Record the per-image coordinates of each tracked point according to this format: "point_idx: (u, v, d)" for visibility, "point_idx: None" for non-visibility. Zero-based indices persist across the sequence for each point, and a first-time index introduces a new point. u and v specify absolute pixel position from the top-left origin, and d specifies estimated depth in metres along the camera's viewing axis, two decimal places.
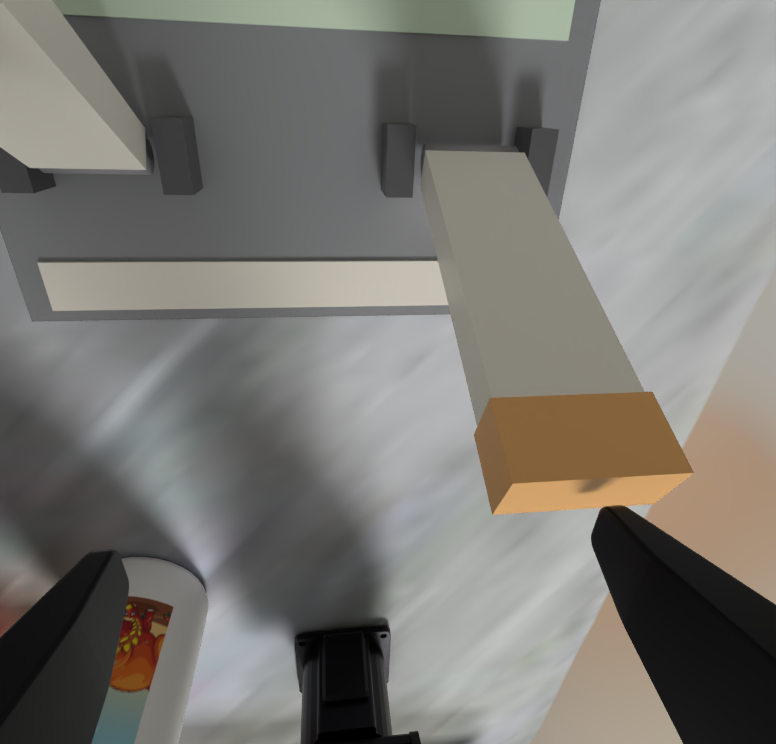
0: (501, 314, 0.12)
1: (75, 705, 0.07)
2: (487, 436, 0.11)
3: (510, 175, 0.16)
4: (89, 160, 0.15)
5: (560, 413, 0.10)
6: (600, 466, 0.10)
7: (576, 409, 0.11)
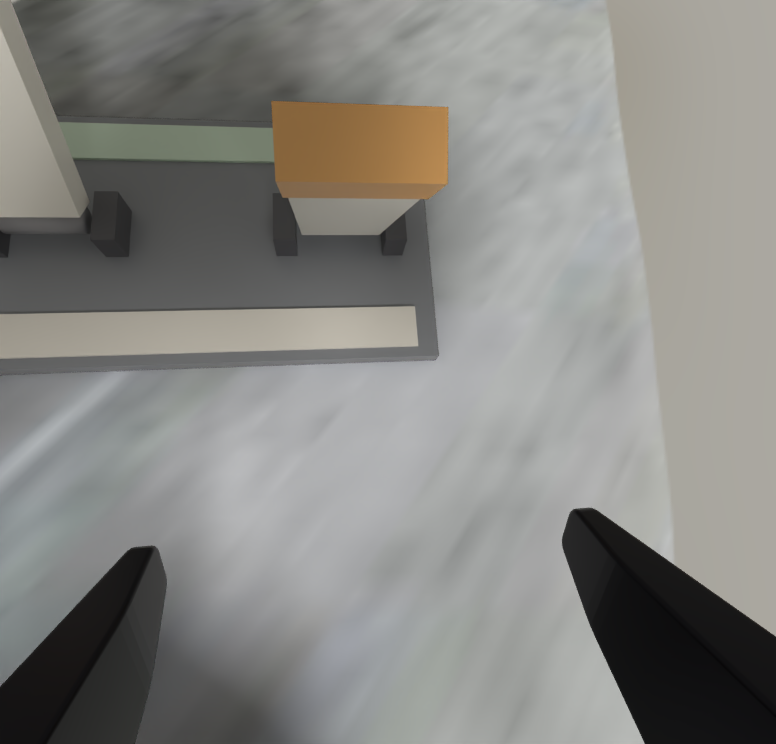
0: None
1: (123, 699, 0.07)
2: None
3: None
4: (35, 203, 0.20)
5: None
6: None
7: None
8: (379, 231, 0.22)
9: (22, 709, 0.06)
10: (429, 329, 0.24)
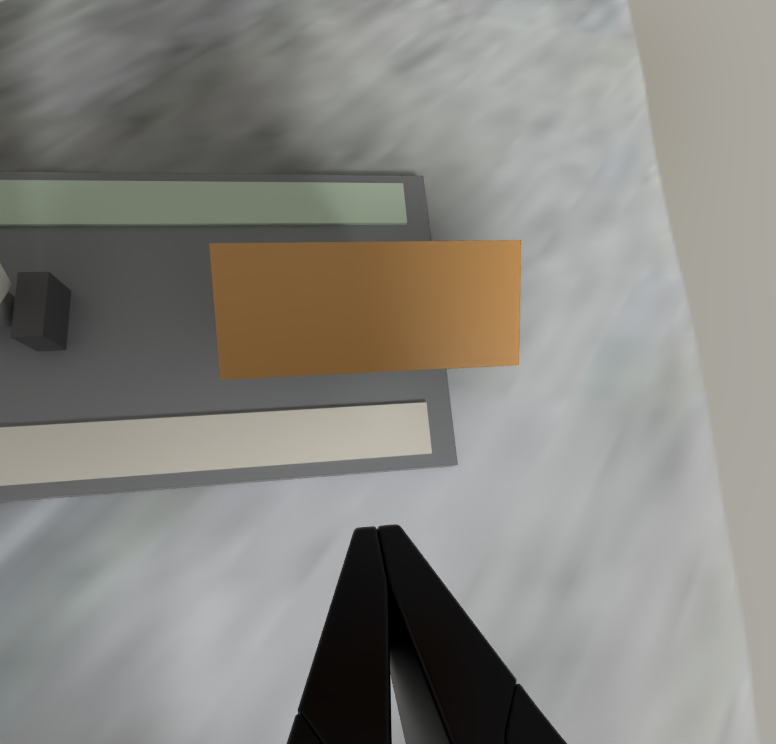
0: None
1: None
2: None
3: None
4: None
5: None
6: None
7: None
8: None
9: (343, 668, 0.06)
10: (445, 430, 0.19)
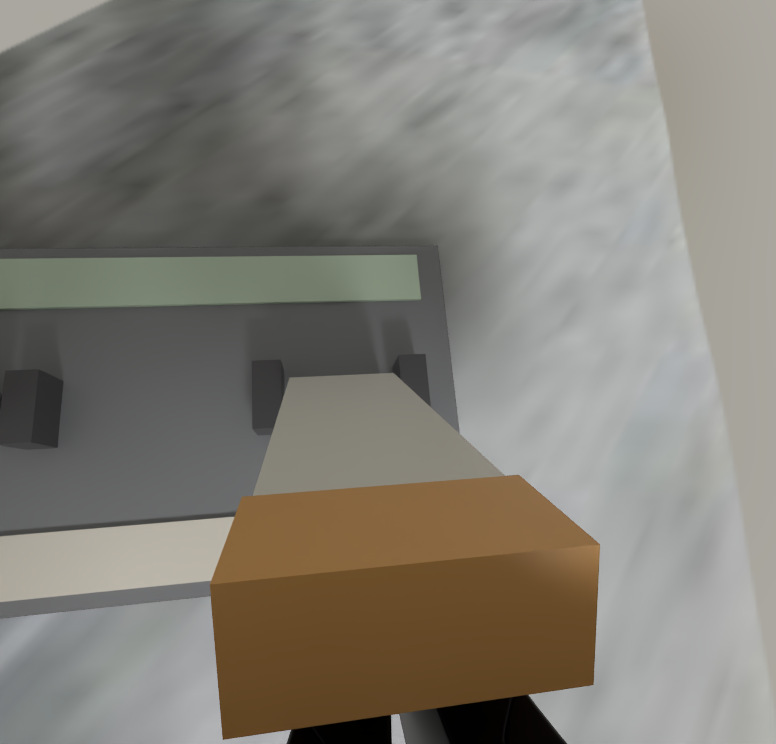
0: (313, 442, 0.09)
1: None
2: None
3: (373, 380, 0.16)
4: None
5: (357, 502, 0.06)
6: (411, 550, 0.05)
7: (387, 496, 0.06)
8: None
9: None
10: None
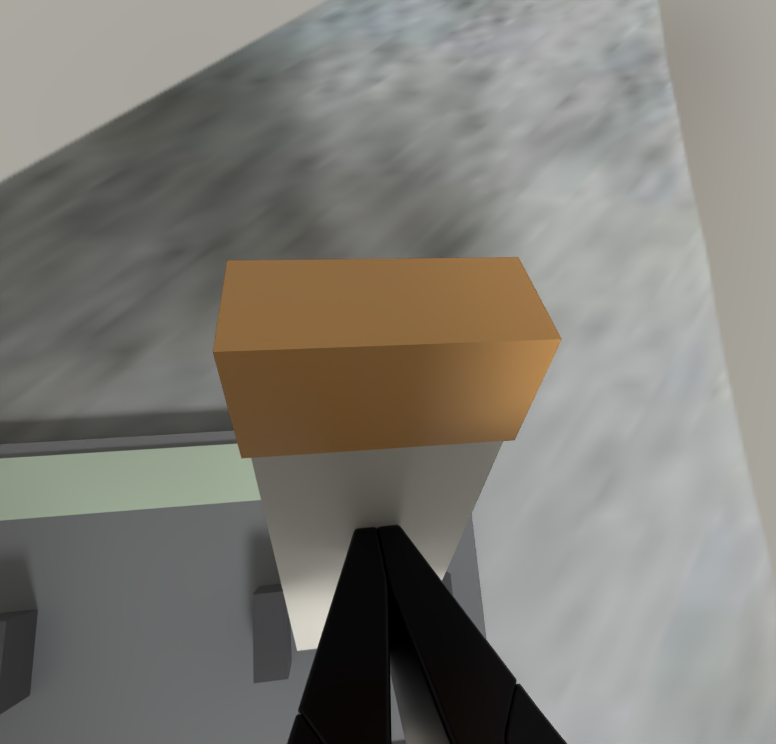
0: None
1: None
2: None
3: None
4: None
5: None
6: None
7: None
8: None
9: (343, 668, 0.06)
10: None
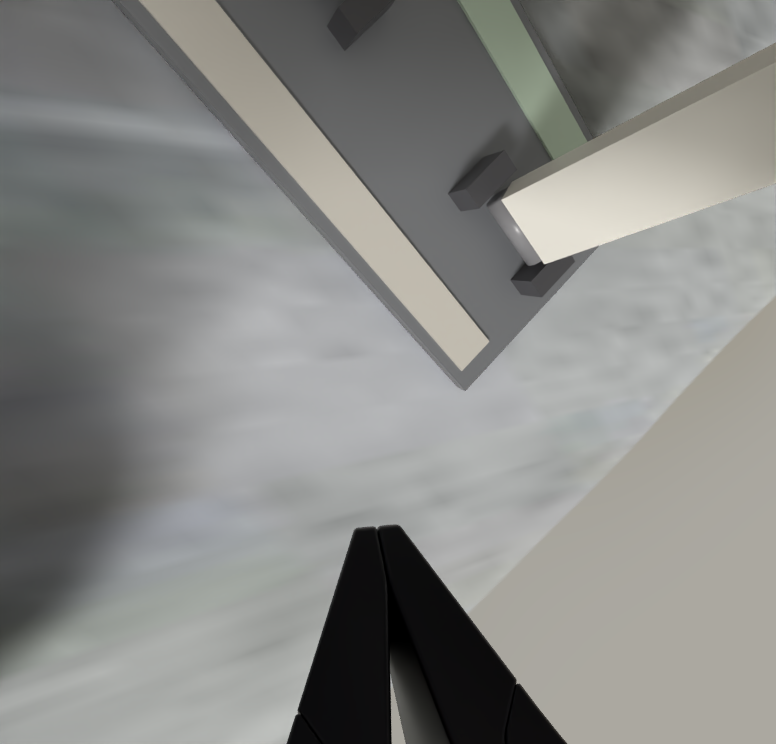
0: None
1: None
2: None
3: None
4: None
5: None
6: None
7: None
8: (574, 250, 0.21)
9: (343, 668, 0.06)
10: (479, 366, 0.24)
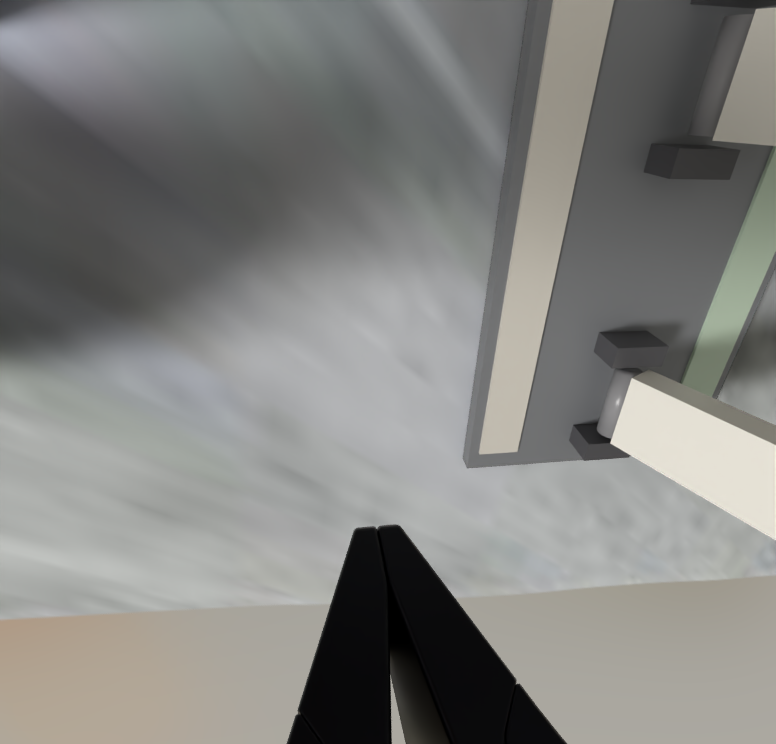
0: None
1: None
2: None
3: None
4: (750, 90, 0.15)
5: None
6: None
7: None
8: (642, 458, 0.22)
9: (343, 668, 0.06)
10: (492, 461, 0.25)
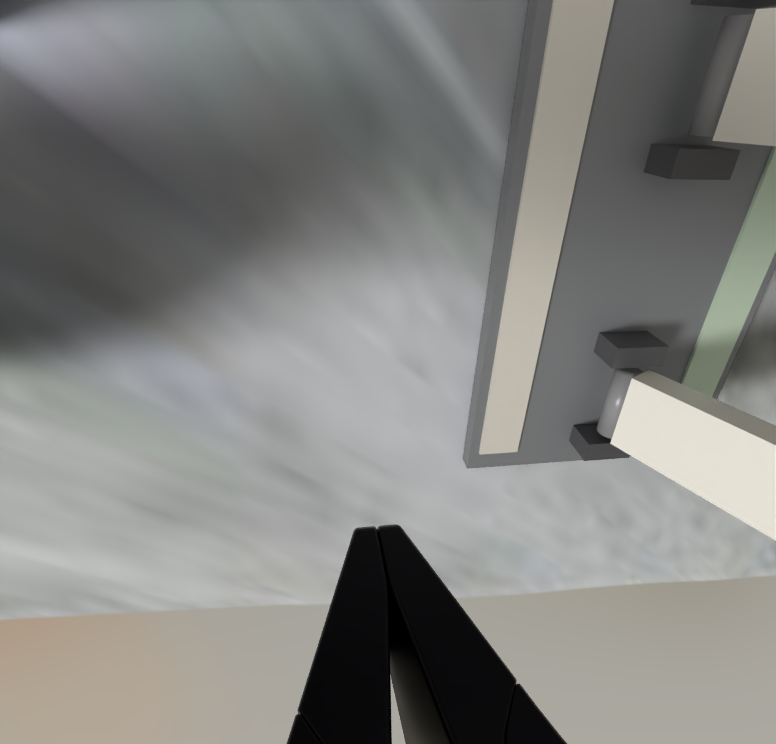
0: None
1: None
2: None
3: None
4: (750, 90, 0.15)
5: None
6: None
7: None
8: (642, 458, 0.22)
9: (343, 668, 0.06)
10: (493, 461, 0.25)
